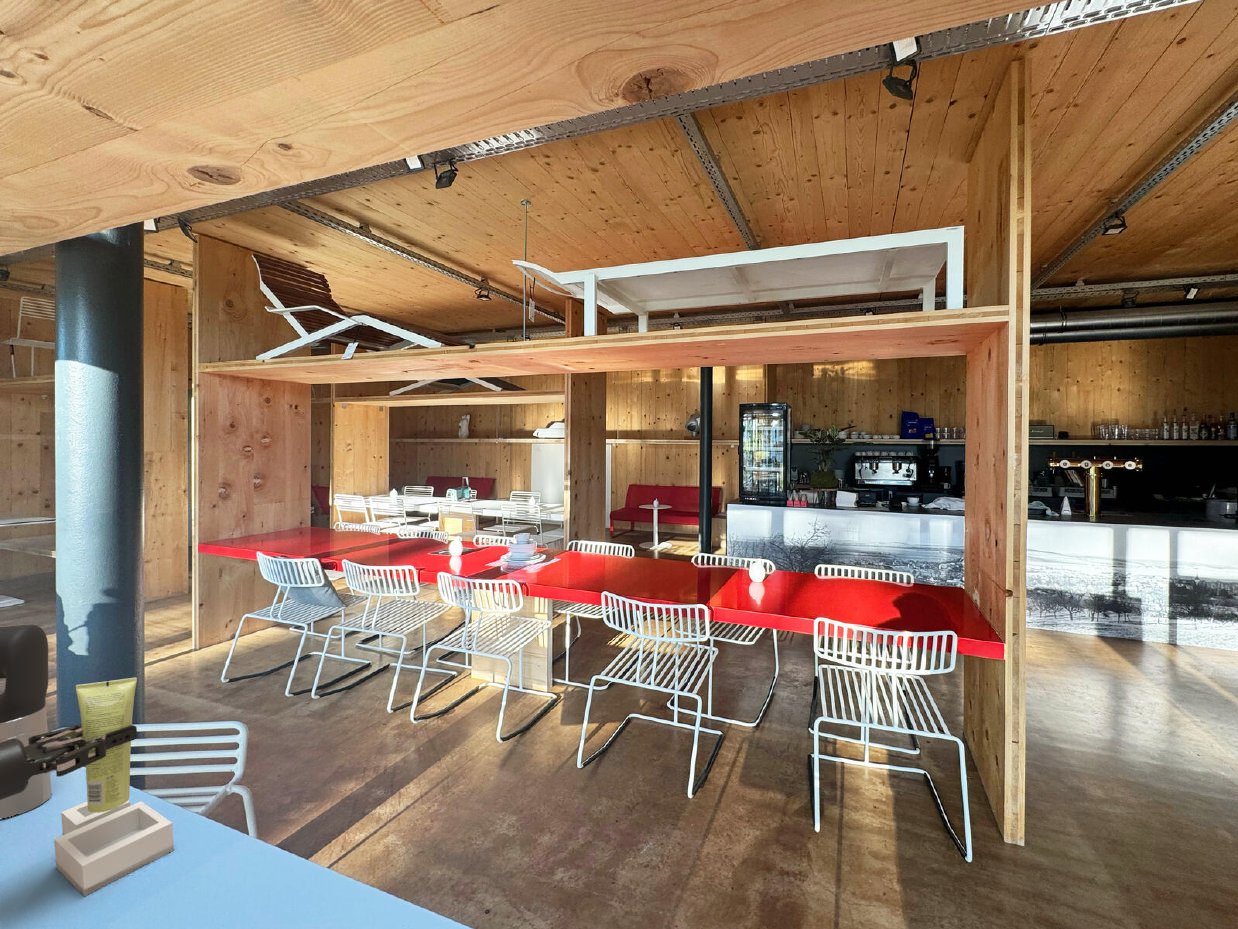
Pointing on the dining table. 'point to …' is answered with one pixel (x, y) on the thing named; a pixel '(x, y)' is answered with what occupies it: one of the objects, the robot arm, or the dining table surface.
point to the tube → (101, 715)
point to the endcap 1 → (84, 816)
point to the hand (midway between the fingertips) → (128, 727)
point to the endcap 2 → (113, 847)
